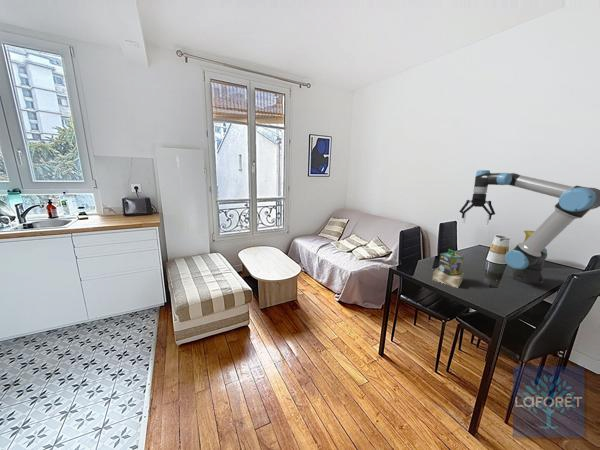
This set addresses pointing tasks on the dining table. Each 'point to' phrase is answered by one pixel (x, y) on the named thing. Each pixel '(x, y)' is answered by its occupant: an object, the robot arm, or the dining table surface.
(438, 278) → the birch block
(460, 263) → the chalk box
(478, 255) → the dining table surface
